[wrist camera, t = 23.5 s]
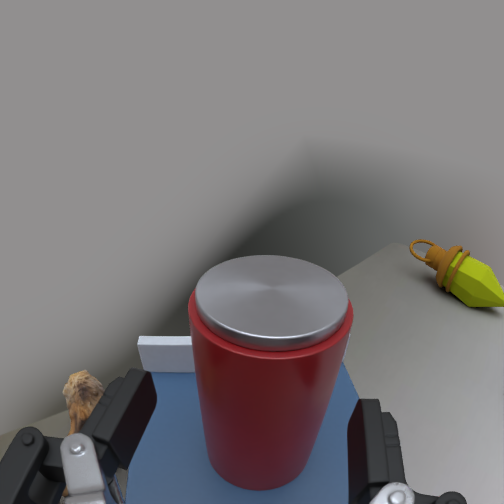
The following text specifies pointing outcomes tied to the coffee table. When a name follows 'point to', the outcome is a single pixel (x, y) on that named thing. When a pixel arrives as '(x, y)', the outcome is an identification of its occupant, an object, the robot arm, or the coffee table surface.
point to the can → (266, 363)
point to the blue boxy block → (195, 451)
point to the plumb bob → (463, 275)
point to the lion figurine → (81, 400)
